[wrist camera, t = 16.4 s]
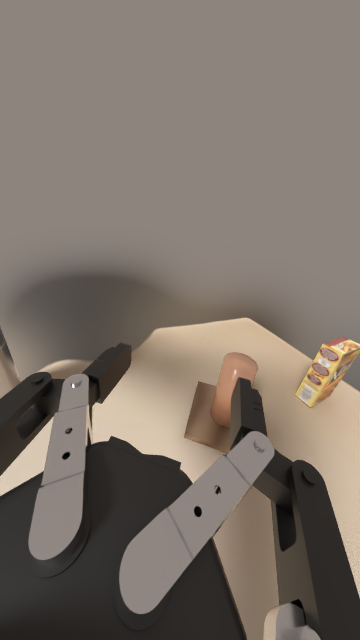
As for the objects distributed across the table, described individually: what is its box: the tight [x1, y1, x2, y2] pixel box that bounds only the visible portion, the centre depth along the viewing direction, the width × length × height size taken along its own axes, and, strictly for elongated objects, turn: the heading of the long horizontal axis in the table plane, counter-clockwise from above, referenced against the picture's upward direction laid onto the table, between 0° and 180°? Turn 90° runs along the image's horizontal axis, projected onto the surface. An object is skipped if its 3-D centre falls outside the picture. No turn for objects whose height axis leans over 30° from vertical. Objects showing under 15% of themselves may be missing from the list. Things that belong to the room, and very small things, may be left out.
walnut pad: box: [184, 381, 231, 453], centre depth 37 cm, size 13×13×1 cm
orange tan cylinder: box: [210, 352, 258, 428], centre depth 34 cm, size 6×6×13 cm
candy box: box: [295, 337, 360, 407], centre depth 42 cm, size 9×4×15 cm, turn 118°
